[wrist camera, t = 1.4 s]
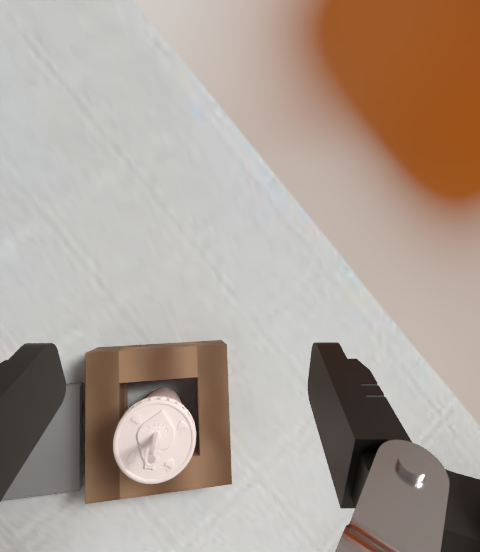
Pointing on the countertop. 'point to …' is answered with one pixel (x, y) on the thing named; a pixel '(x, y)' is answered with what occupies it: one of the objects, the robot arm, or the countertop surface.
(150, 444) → the smoothie
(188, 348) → the frame
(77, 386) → the slate coaster
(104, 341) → the countertop surface
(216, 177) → the countertop surface
